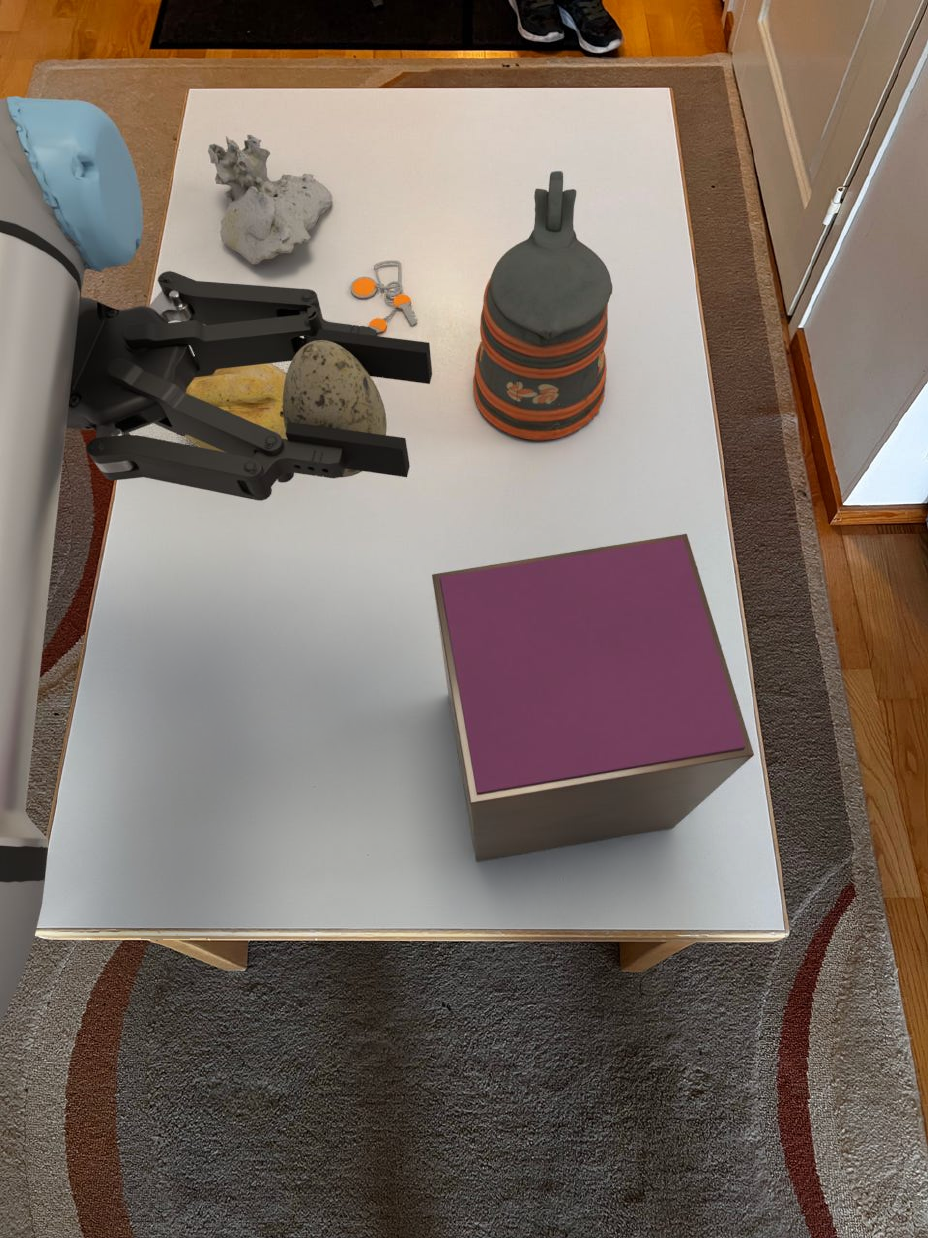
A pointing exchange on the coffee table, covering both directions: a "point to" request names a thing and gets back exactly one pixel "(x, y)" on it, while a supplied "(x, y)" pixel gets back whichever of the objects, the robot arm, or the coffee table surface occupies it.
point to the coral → (264, 202)
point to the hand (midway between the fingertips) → (417, 409)
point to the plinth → (588, 800)
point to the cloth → (586, 666)
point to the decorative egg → (332, 392)
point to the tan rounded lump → (244, 395)
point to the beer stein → (544, 328)
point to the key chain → (368, 288)
